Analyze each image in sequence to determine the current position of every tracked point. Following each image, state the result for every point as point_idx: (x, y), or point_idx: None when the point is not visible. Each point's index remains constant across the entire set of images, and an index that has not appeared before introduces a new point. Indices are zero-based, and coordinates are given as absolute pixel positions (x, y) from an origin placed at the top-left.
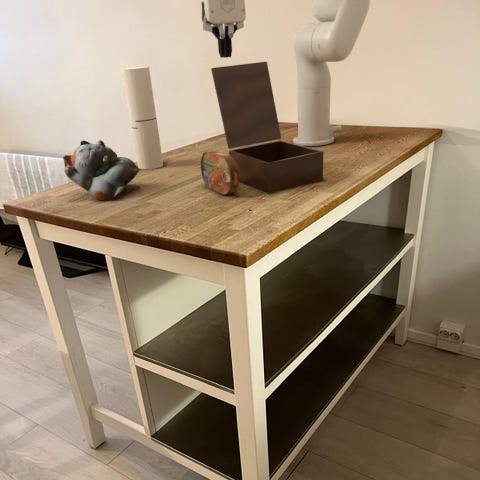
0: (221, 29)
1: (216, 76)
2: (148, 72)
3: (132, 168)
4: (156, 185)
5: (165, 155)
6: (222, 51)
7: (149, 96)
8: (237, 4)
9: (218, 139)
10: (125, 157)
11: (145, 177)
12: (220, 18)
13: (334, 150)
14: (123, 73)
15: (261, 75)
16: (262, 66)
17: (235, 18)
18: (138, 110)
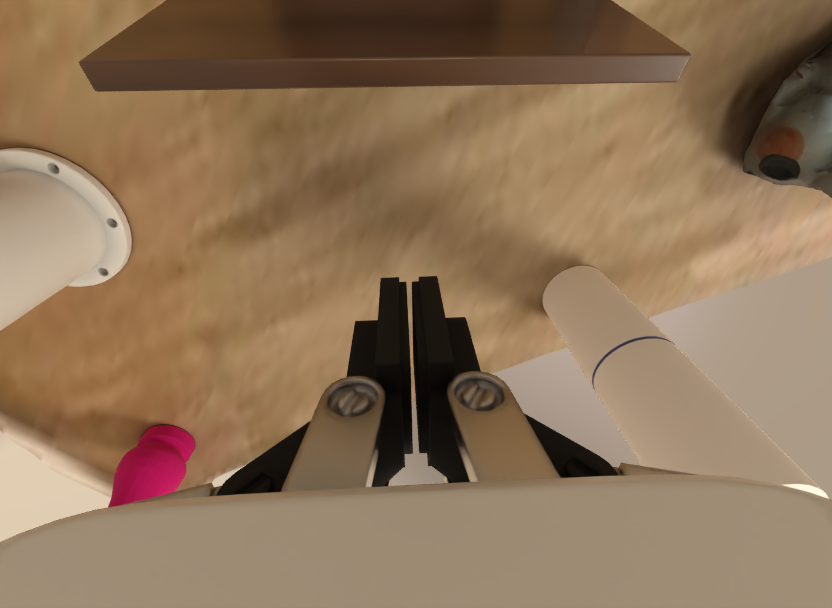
0: (503, 457)
1: (635, 30)
2: None
3: (815, 81)
4: (694, 84)
5: (491, 365)
6: (457, 319)
7: (672, 393)
8: None
9: None
10: (827, 128)
11: (653, 196)
12: (670, 557)
13: (4, 47)
14: None
15: (211, 21)
16: (159, 45)
17: (228, 560)
18: (693, 364)
